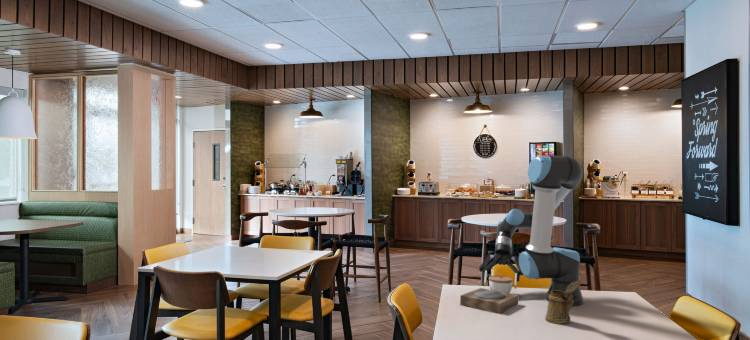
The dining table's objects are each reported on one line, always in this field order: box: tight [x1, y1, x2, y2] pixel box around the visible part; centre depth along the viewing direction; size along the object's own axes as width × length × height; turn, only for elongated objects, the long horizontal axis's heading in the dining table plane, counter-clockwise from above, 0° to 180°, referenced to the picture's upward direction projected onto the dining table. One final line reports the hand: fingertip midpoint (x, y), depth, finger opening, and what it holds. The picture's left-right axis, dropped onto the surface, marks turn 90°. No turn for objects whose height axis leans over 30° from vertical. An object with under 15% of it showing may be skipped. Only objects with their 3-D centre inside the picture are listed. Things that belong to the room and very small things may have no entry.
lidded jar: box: [488, 273, 514, 294], centre depth 235 cm, size 11×11×9 cm
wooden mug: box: [544, 279, 581, 325], centre depth 195 cm, size 9×14×18 cm, turn 28°
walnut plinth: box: [459, 287, 519, 314], centre depth 217 cm, size 18×18×4 cm
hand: (500, 285), depth 233 cm, fingers open, 13 cm apart
